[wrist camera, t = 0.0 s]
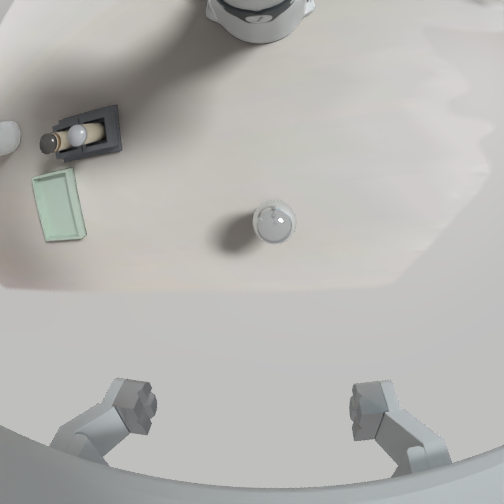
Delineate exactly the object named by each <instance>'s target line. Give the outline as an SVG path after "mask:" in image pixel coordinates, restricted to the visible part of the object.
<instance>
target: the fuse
mask: <svg viewBox="0 0 504 504" xmlns="http://www.w3.org/2000/svg"><path fill="white" fill-rule="evenodd" d="M67 138H68V141H69V143H70V144H71V145H72V146H75V147H76V146H80V145H83V144H88V143H92V142H97V141H101V140H104V139H106V138H107V137H106V129H105V123H104V122H98V123H90V124H82V125H74V126H72V127H71V128H70V129H69V131H68V135H67Z"/></svg>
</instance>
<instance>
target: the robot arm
mask: <svg viewBox="0 0 504 504" xmlns="http://www.w3.org/2000/svg"><path fill="white" fill-rule="evenodd" d="M314 9H315V4H314V1H313V0H308V2H307V0H207V6H206V16H207V18H209V19H210V20H212V21H215V22H217V23H220V24H221V25H222V26H223V27H224V28H225V29H226V30H227V31H228V32H229V33H230V34H232V35H233V36H235V37H236V38H238V39H241V40H243V41H246V42H251V43H269V42H273V41H277V40H279V39H282V38H284V37H285V36H287V35H288V34H290V33H291V32H292V31H293V30H294V29H295V28H296V26H297V25H298V24H299V22H300V21H301V19H302V18H303V17H305V16H307V15H309V14H310V13H312V12H313V11H314ZM151 389H152V387H151V385H150V383H149V382H143V381H136V380H129V379H123V378H116V379H114V381H113V383H112V384H111V386H110V388H109V390H108V392H107V394H106V395H105V397H104V399H103V401H102V403H101V404H96V405H95V406H93V407H92V408H90V409H89V410H87V411H85V412H84V413H82V414H80V415H79V416H77V417H76V418H74V419H72V420H71V421H69V422H67V423H66V424H64V425H62V426H61V427H60V428H59V430H58V432H57V433H56V435H55V437H54V438H53V440H52V442H51V444H50V446H46V445H44V444H41V443H39V442H36V441H34V440H31V439H29V438H27V437H24V436H22V435H20V434H18V433H16V432H13V431H11V430H9V429H7V428H5V427H3V426H1V425H0V504H504V445H502V446H500V447H498V448H495V449H492V450H490V451H487V452H484V453H482V454H479V455H476V456H473V457H470V458H467V459H464V460H461V461H458V462H454V463H452V461H451V458H450V455H449V452H448V449H447V446H446V443H445V440H444V439H443V438H442V437H441V436H439V435H438V434H437V433H435V432H434V431H433V430H431V429H430V428H429V427H427V426H426V425H425V424H423V423H422V422H421V421H419V420H418V419H417V418H416V417H414V416H413V415H411V414H410V413H409V412H408V411H406V410H402V409H401V407H400V403H399V400H398V397H397V394H396V391H395V388H394V385H393V382H392V381H391V380H385V381H374V382H366V383H357V384H354V385H353V389H352V391H353V396H352V397H351V399H350V418H351V420H352V421H353V422H354V423H353V426H352V430H353V437H354V441H361V440H370V439H375V441H376V442H377V443H378V444H379V445H380V446H381V447H382V448H383V449H384V450H385V452H387V454H388V455H389V456H390V457H391V458H392V459H393V460H394V461H395V462H396V463H397V464H398V465H399V466H398V467H397V469H396V471H395V472H394V474H393V475H392V477H391V478H388V479H383V480H376V481H370V482H362V483H354V484H346V485H336V486H324V487H308V488H245V487H229V486H216V485H206V484H198V483H190V482H183V481H176V480H170V479H164V478H159V477H153V476H148V475H143V474H139V473H134V472H130V471H125V470H121V469H118V468H114V467H110V466H109V465H108V463H107V462H106V461H105V460H104V459H103V456H104V455H106V454H107V453H108V452H109V451H110V450H111V449H112V448H114V447H115V446H116V445H117V444H118V443H120V442H121V441H122V440H123V439H124V438H125V437H126V436H128V435H129V434H130V433H136V434H142V435H148V432H149V429H150V427H151V424H152V423H151V421H150V419H151V418H152V417H153V416H155V413H156V410H157V400H156V397H155V395H154V394H153V393H152V392H150V391H151Z"/></svg>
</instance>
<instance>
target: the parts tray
mask: <svg viewBox="0 0 504 504" xmlns="http://www.w3.org/2000/svg"><path fill="white" fill-rule="evenodd" d="M31 180H32V185H33V190H34V195H35V199H36V204H37V208H38V213H39V217H40V221H41V225H42V229H43V233H44V236H45V240H46V241H57V240H69V239H81V238H83V237H84V236H85V235H87V233H86V228H85V224H84V220H83V215H82V211H81V206H80V201H79V196H78V191H77V186H76V181H75V175H74V169H73V167H72V168H67V169H63V170H59V171H54V172H50V173H46V174H42V175H38V176H35V177H33V178H31Z"/></svg>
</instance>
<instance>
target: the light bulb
mask: <svg viewBox="0 0 504 504" xmlns="http://www.w3.org/2000/svg"><path fill="white" fill-rule="evenodd" d="M296 224H297V220H296V215H295V213H294V211H293V209H292V208H291V207H290V206H289V205H288V204H286V203H285V202H282V201H279V200H269V201H266V202H264V203H262V204H261V205H260V206H259V207H258V208H257V209H256V211H255V212H254V215H253V218H252V225H253V230H254V232H255V234H256V235H257V237H258V238H259V239H260V240H262V241H263V242H265V243H268V244H274V245H276V244H281V243H284V242H286V241H287V240H288V239H290V238H291V236H292V235H293V234H294V232H295V229H296Z"/></svg>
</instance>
